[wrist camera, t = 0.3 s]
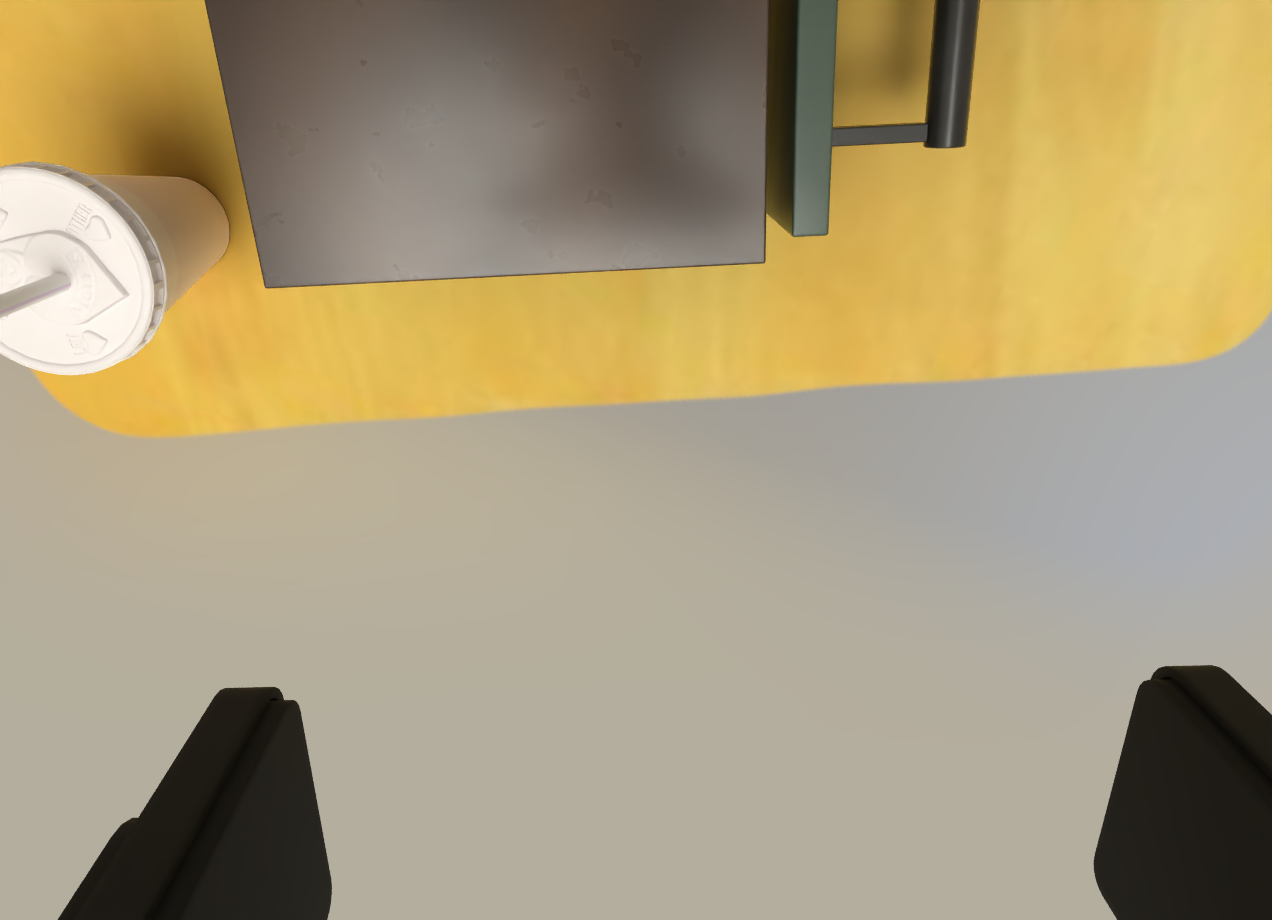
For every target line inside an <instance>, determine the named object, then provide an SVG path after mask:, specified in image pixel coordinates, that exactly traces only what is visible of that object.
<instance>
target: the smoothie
mask: <svg viewBox="0 0 1272 920" xmlns="http://www.w3.org/2000/svg"><path fill="white" fill-rule="evenodd" d="M229 237H230V229H229V222H228V219H227V216H226V213H225V211H224V209H223V207H222V205H221V204H220V202H219V201H218V200H217V198H216V197H215V196H214V195H213V194H212V193H211V192H210V191H209V190H208V189H206V188H205V187H203V186H202V185H200V184H199V183H197V182H195V181H192V180H190V179H186V178H182V177H170V176H136V175H102V174H84V173H82V172H79V171H76V170H74V169H71V168H68V167H66V166H63V165H57V164H49V163H41V162H25V163H19V164H12V165H5V166H3V167H1V168H0V353H1V354H2V355H4V356H6V357H7V358H9V359H11V360H13V361H15V362H17V363H20V364H22V365H24V366H27V367H29V368H32V369H35V370H39V371H43V372H47V373H53V374H61V375H81V374H88V373H94V372H97V371H101V370H104V369H106V368H109V367H111V366H113V365H115V364H116V363H119V362H121V361H123V360H125V359H128V358H130V357H132V356H134V355H135V354H136V353H137V352H138V351H140V350H141V349H142V348H143V347H144V346H145V345H146V344H147V343H148V342H150V341H151V339H152V338H153V336H154V334H155V332H156V331H157V329H158V327H159V325H160V324H161V322H162V320H163V317H164V313H165V312H166V311H167V310H168V309H169V308H170V307H171V306H172V305H173V304H174V303H175V302H176V301H177V300H178V299H179V298H181V297H182V296H183V295H184V294H185V293H186V292H187V291H188V290H189V289H190V288H191V287H192V286H193V285H194V284H195V283H196V282H197V281H198V280H199V279H200V278H201V277H202V276H203V275H204V274H205V273H206V272H207V271H208V270H209V269H210V268H211V267H212V266H213V265H214V264H215V263H216V262H217V261H218V260H219V259H220V258H221V257H222V256H223V254H224V253H225V251H226V249H227V246H228V243H229Z"/></svg>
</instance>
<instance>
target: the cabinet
mask: <svg viewBox="0 0 1272 920" xmlns="http://www.w3.org/2000/svg"><path fill="white" fill-rule="evenodd" d="M205 4H206V9H207V14H208V18H209V23H210V28H211V33H212V37H213V42H214V47H215V52H216V57H217V61H218V66H219V71H220V76H221V80H222V85H223V90H224V95H225V99H226V104H227V109H228V114H229V118H230V123H231V128H232V133H233V137H234V142H235V147H236V152H237V156H238V161H239V166H240V171H241V176H242V180H243V185H244V190H245V195H246V199H247V204H248V209H249V214H250V218H251V223H252V228H253V233H254V237H255V242H256V247H257V252H258V256H259V261H260V266H261V271H262V275H263V280H264V285H265V288H286V287H306V286H326V285H345V284H365V283H385V282H405V281H424V280H444V279H464V278H484V277H503V276H523V275H543V274H563V273H582V272H602V271H622V270H642V269H661V268H681V267H701V266H721V265H740V264H760V263H765V259H766V187H767V116H768V45H769V0H205Z"/></svg>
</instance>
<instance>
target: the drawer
mask: <svg viewBox="0 0 1272 920" xmlns="http://www.w3.org/2000/svg"><path fill="white" fill-rule="evenodd" d="M979 7H980V0H935V5H934V18H933V30H932V43H931V55H930V68H929V80H928V93H927V105H926V118H925V123H922V122H921V123H901V124H880V125H860V126H839V127H833V107H834V83H835V59H836V34H837V10H838V0H769V45H768V116H767V187H766V213H767V214H768V215H769V216H770V217H771V218H772V219H774V220H775V221H776V222H777V223H778V224H779V225H780V226H781V227H783V228H784V229H785V230H786V231H787V232H788V233H789V234H790V235H792V236H793V237H804V236H824V235H827V234H828V228H829V204H830V180H831V155H832V147H833V146H853V145H874V144H894V143H915V142H924V143H923V146H924V147H926V148H958V147H964V146H966V140H967V130H968V119H969V109H970V99H971V89H972V78H973V68H974V58H975V48H976V38H977V27H978V17H979Z"/></svg>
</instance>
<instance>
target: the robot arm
mask: <svg viewBox="0 0 1272 920" xmlns="http://www.w3.org/2000/svg"><path fill="white" fill-rule="evenodd" d="M1094 873H1095V878H1096V881H1097V884H1098V887H1099V890H1100V891H1101V894H1102V896H1103V897H1104V899H1105V900H1106V902H1107V904H1108V905H1109V907H1110V908H1111V910H1112V912H1113V913H1114V915H1115V917H1116V918H1117V920H1272V715H1271V714H1270V713H1269V712H1268V711H1267V710H1266V709H1265V708H1264V707H1263V706H1262V705H1261V704H1260V703H1259V702H1257V700H1255V698H1253V697H1252V696H1251V695H1250V694H1249V693H1248V692H1247V691H1246V690H1245V689H1244V688H1243V687H1242V686H1241V685H1240V684H1239V683H1238V682H1237V681H1236V680H1235V679H1234V678H1232V677H1231V676H1230V675H1229V674H1228V673H1227V672H1226V671H1224V670H1223V669H1221V668H1220V667H1217V666H1212V665H1204V666H1165V667H1161V668H1158V669H1157V670H1156V671H1155V672H1154V673H1153V675H1152V678H1151V680H1147V681H1144V682H1143V683H1142V684H1141V685H1140V686H1139V689H1138V691H1137V695H1136V698H1135V702H1134V706H1133V710H1132V714H1131V718H1130V721H1129V725H1128V729H1127V733H1126V737H1125V741H1124V745H1123V748H1122V752H1121V756H1120V760H1119V764H1118V768H1117V771H1116V775H1115V779H1114V783H1113V787H1112V791H1111V795H1110V798H1109V802H1108V806H1107V810H1106V814H1105V818H1104V822H1103V826H1102V829H1101V833H1100V837H1099V841H1098V845H1097V848H1096V852H1095V857H1094ZM331 895H332V884H331V876H330V871H329V865H328V859H327V854H326V849H325V843H324V838H323V832H322V826H321V821H320V815H319V810H318V805H317V799H316V793H315V788H314V782H313V777H312V771H311V767H310V761H309V755H308V750H307V744H306V739H305V733H304V728H303V722H302V717H301V711H300V708H299V705H298V703H297V702H296V701H294V700H284V698H283V695H282V693H281V691H280V690H279V689H278V688H276V687H254V688H224V689H222V690H220V691H219V692H218V693H217V694H216V696H215V697H214V698H213V700H212V702H211V703H210V705H209V707H208V708H207V710H206V711H205V713H204V714H203V716H202V717H201V719H200V721H199V722H198V724H197V725H196V727H195V729H194V730H193V732H192V733H191V735H190V737H189V738H188V740H187V741H186V743H185V744H184V746H183V748H182V749H181V751H180V752H179V754H178V756H177V757H176V759H175V760H174V762H173V764H172V765H171V767H170V768H169V770H168V771H167V773H166V775H165V776H164V778H163V780H162V781H161V783H160V784H159V786H158V788H157V789H156V791H155V792H154V794H153V795H152V797H151V798H150V800H149V802H148V803H147V805H146V807H145V808H144V810H143V811H142V813H141V814H140V816H139V818H131V819H130V820H128V821H126V822H125V823H123V824H122V825H121V826H120V827H119V828H118V830H117V831H116V832H115V833H114V834H113V836H112V837H111V838H110V840H109V841H108V843H107V845H106V846H105V848H104V849H103V851H102V852H101V854H100V855H99V857H98V858H97V860H96V861H95V863H94V865H93V866H92V868H91V869H90V871H89V872H88V874H87V875H86V877H85V879H84V880H83V881H82V883H81V884H80V886H79V888H78V889H77V891H76V892H75V894H74V895H73V897H72V899H71V900H70V901H69V903H68V905H67V906H66V908H65V909H64V911H63V912H62V914H61V915H60V917H59V918H58V920H327V918H328V914H329V910H330V904H331Z"/></svg>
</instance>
